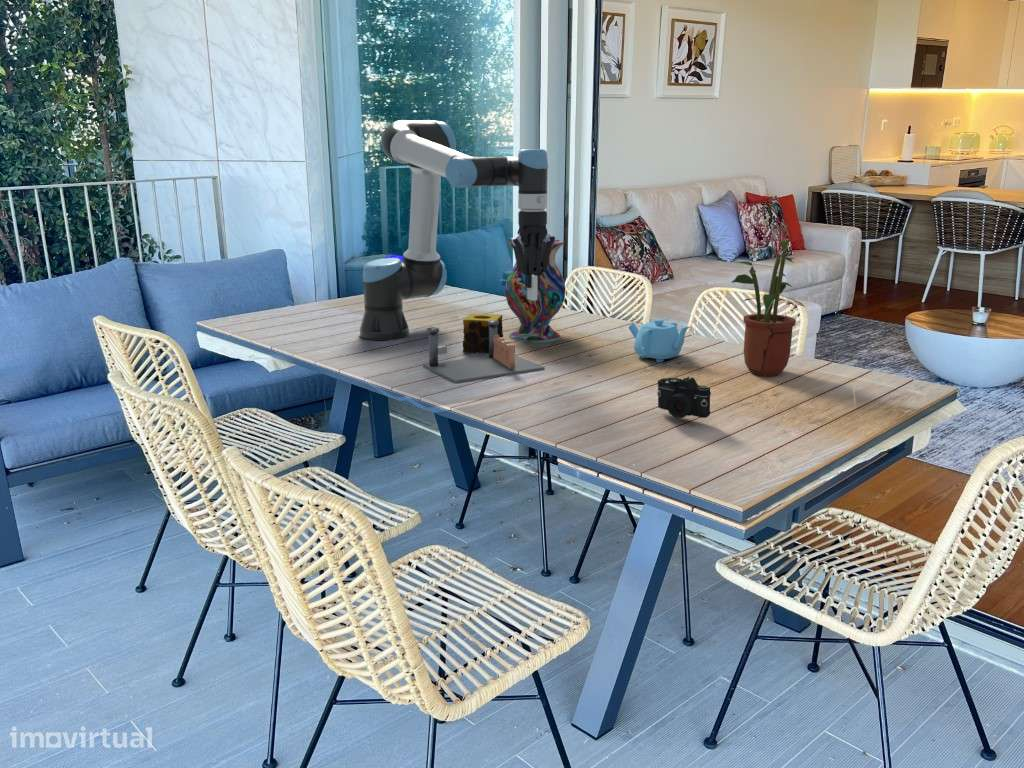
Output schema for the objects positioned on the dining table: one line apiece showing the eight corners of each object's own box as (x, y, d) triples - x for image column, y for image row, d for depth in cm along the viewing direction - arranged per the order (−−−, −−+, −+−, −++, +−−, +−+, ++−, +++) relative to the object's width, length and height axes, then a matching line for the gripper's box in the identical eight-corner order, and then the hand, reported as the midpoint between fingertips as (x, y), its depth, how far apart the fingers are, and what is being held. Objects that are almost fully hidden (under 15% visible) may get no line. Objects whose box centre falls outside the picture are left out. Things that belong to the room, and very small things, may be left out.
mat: (423, 366, 235) (423, 364, 235) (508, 354, 249) (508, 352, 248) (455, 383, 220) (455, 380, 219) (544, 369, 233) (544, 367, 233)
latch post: (423, 366, 236) (422, 327, 233) (444, 363, 239) (443, 324, 236) (431, 369, 232) (430, 330, 229) (452, 366, 235) (451, 327, 232)
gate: (493, 357, 241) (493, 334, 239) (498, 357, 241) (498, 334, 240) (510, 369, 229) (510, 345, 227) (515, 368, 230) (515, 344, 228)
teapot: (680, 353, 251) (682, 314, 248) (688, 365, 238) (691, 324, 235) (627, 353, 251) (628, 314, 248) (632, 364, 238) (634, 324, 235)
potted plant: (791, 370, 233) (803, 238, 223) (789, 384, 219) (802, 245, 209) (725, 364, 238) (734, 236, 229) (719, 378, 224) (728, 242, 215)
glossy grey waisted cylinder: (485, 358, 244) (485, 321, 241) (495, 357, 245) (495, 319, 243) (491, 361, 241) (490, 323, 238) (501, 359, 243) (501, 321, 240)
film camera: (644, 414, 197) (647, 379, 190) (661, 397, 201) (664, 363, 195) (696, 437, 190) (702, 402, 184) (713, 419, 195) (718, 384, 188)
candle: (496, 355, 248) (496, 321, 245) (462, 353, 250) (461, 319, 247) (504, 347, 258) (504, 314, 255) (471, 345, 260) (470, 312, 257)
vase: (496, 342, 264) (495, 243, 255) (518, 330, 280) (518, 236, 272) (552, 347, 257) (554, 246, 249) (572, 335, 273) (574, 239, 265)
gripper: (518, 212, 220) (518, 304, 226) (561, 210, 226) (560, 299, 233) (503, 210, 226) (504, 299, 233) (545, 208, 233) (545, 295, 239)
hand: (532, 299), depth 233 cm, fingers closed
